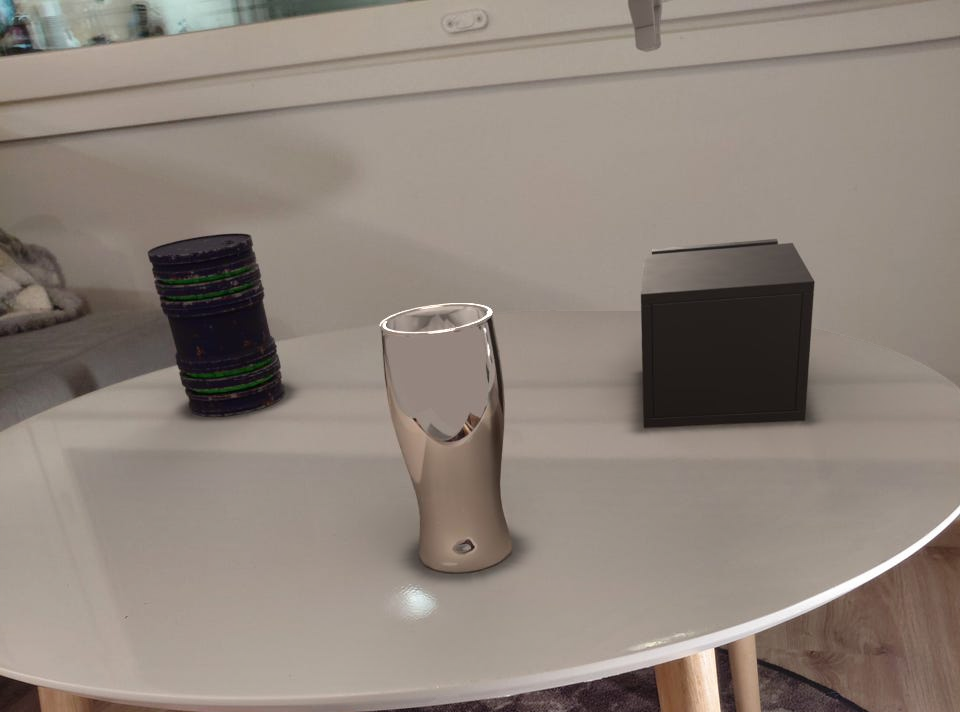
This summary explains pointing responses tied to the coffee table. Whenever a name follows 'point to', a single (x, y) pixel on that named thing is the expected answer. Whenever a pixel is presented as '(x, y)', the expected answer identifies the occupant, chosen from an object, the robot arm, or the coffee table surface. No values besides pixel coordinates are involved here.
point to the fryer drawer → (715, 246)
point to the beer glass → (450, 429)
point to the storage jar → (218, 323)
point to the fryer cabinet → (725, 336)
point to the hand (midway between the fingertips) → (648, 50)
